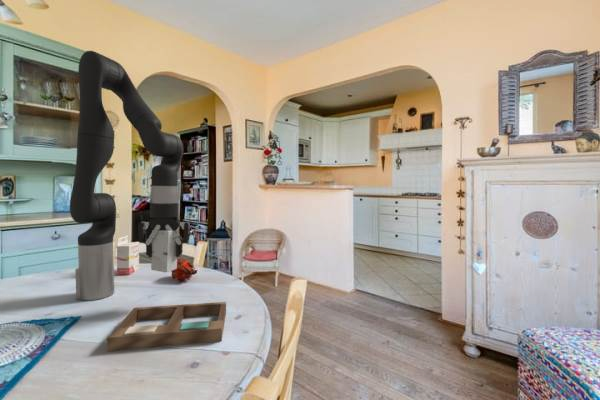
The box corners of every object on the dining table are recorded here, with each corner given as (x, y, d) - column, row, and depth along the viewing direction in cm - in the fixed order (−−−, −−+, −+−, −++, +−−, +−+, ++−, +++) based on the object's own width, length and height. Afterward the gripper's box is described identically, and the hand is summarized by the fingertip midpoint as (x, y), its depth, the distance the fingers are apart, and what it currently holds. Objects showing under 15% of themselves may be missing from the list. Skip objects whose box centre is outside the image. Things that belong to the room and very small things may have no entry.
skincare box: (150, 270, 83) (150, 229, 82) (162, 266, 87) (161, 227, 86) (167, 273, 81) (167, 231, 80) (178, 268, 85) (178, 228, 85)
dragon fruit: (178, 278, 114) (190, 291, 105) (161, 270, 108) (171, 282, 100) (192, 260, 116) (204, 271, 107) (175, 251, 110) (187, 261, 102)
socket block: (107, 351, 61) (107, 335, 61) (134, 318, 76) (134, 306, 76) (221, 340, 66) (221, 326, 66) (226, 312, 81) (226, 300, 80)
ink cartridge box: (129, 275, 112) (129, 238, 112) (116, 275, 112) (115, 238, 111) (140, 268, 121) (139, 234, 120) (128, 269, 120) (127, 234, 120)
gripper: (133, 201, 78) (133, 260, 79) (188, 202, 81) (187, 259, 81) (142, 200, 85) (143, 254, 86) (192, 200, 88) (192, 253, 89)
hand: (164, 256), depth 84 cm, fingers closed on skincare box, 7 cm apart
